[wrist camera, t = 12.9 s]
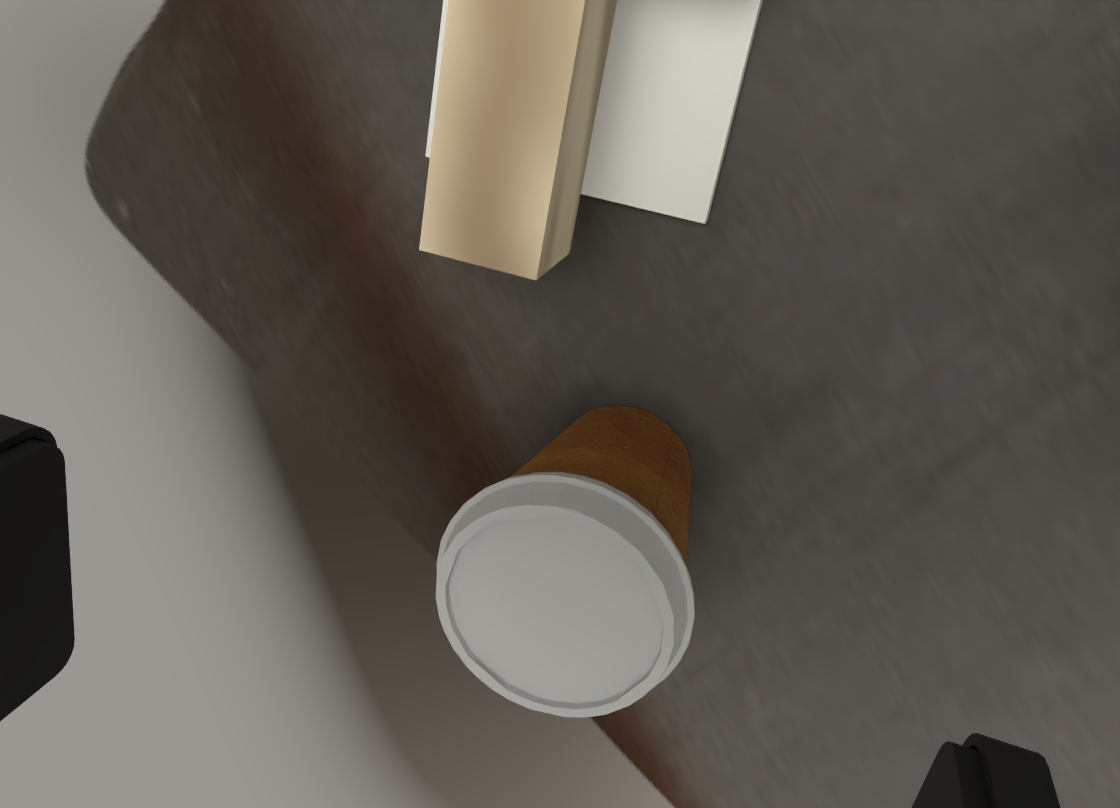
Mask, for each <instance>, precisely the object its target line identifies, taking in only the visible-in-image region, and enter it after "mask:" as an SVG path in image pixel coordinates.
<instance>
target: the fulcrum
mask: <svg viewBox="0 0 1120 808" xmlns="http://www.w3.org/2000/svg"><path fill="white" fill-rule="evenodd" d="M762 2H763V0H617V4H616V9H615V15H614V20H613V25H612V31H611V36H610V41H609V46H608V52H607V57H606V62H605V68H604V73H603V78H602V84H601V89H600V94H599V99H598V105H597V110H596V115H595V121H594V126H593V131H592V137H591V142H590V147H589V152H588V158H587V163H586V168H585V174H584V179H583V184H582V190H581V194H583V195H587V196H591V197H596V198H600V199H604V200H608V201H612V202H616V203H620V204H625V205H629V206H633V207H637V208H641V209H645V210H649V211H653V212H658V213H662V214H666V215H670V216H674V217H678V218H682V219H687V220H691V221H695V222H699V223H703V224H705V223H706V222H707V220H708V218H709V214H710V210H711V206H712V202H713V198H714V194H715V190H716V186H717V182H718V178H719V174H720V170H721V166H722V162H723V158H724V154H725V150H726V146H727V142H728V138H729V134H730V130H731V126H732V122H733V118H734V114H735V110H736V106H737V102H738V98H739V94H740V90H741V86H742V82H743V78H744V74H745V70H746V66H747V62H748V58H749V54H750V50H751V46H752V42H753V38H754V34H755V30H756V26H757V22H758V18H759V14H760V10H761V6H762ZM447 8H448V0H443V9H442V17H441V26H440V35H439V44H438V52H437V61H436V70H435V78H434V87H433V96H432V104H431V113H430V122H429V130H428V139H427V148H426V157H430V153H431V145H432V136H433V128H434V119H435V110H436V102H437V93H438V85H439V76H440V68H441V59H442V51H443V42H444V34H445V25H446V17H447Z"/></svg>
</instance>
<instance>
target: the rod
mask: <svg viewBox="0 0 1120 808" xmlns="http://www.w3.org/2000/svg"><path fill="white" fill-rule="evenodd" d="M616 4H617V0H448V8H447V17H446V25H445V34H444V42H443V51H442V59H441V68H440V76H439V85H438V93H437V102H436V110H435V119H434V128H433V136H432V145H431V153H430V162H429V170H428V179H427V187H426V196H425V204H424V213H423V221H422V230H421V238H420V247H419V250H422V251H426V252H429V253H433V254H437V255H441V256H445V257H449V258H452V259H456V260H460V261H464V262H468V263H471V264H475V265H479V266H483V267H487V268H491V269H494V270H498V271H502V272H506V273H510V274H513V275H517V276H521V277H525V278H529V279H533V280H537V279H538V278H540V277H541V276H542V275H543V274H545V273H546V272H547V271H548V270H550V269H551V268H552V267H553V266H554V265H556V264H557V263H558V262H559V261H561V260H562V259H563V258H564V257H566V256H567V255H568V254H569V253H570V248H571V243H572V237H573V232H574V227H575V221H576V216H577V211H578V205H579V200H580V195H581V190H582V184H583V179H584V174H585V168H586V163H587V158H588V152H589V147H590V142H591V137H592V131H593V126H594V121H595V115H596V110H597V105H598V99H599V94H600V89H601V84H602V78H603V73H604V68H605V62H606V57H607V52H608V46H609V41H610V36H611V31H612V25H613V20H614V15H615V9H616Z"/></svg>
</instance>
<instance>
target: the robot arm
mask: <svg viewBox="0 0 1120 808" xmlns="http://www.w3.org/2000/svg"><path fill="white" fill-rule="evenodd" d="M72 603H73V602H72V585H71V566H70V548H69V530H68V512H67V493H66V477H65V460H64V456H63V453H62V452H61V450H60V449H59V448H57V445H56V440H55V438H54V437H53V435H52V434H51V433H50V432H49V431H48V430H46V429H44V428H42V427H38V426H36V425H33V424H29V423H26V422H23V421H20V420H17V419H14V418H11V417H8V416H5V415H0V721H1V720H2V719H4V718H5V717H6V716H7V715H9V714H10V713H11V712H12V711H13V710H15V709H16V708H17V707H18V706H20V705H21V704H22V703H23V702H24V701H26V700H27V699H28V698H29V697H31V696H32V695H33V694H34V693H35V692H37V691H38V690H39V689H40V688H41V687H43V686H44V685H45V684H46V683H47V682H49V681H50V680H51V679H52V678H54V677H55V676H56V675H57V674H58V673H59V672H60V671H61V670H62V669H63V668H64V666H65V665H66V663H67V662H68V660H69V658H70V656H71V654H72V650H73V648H74V621H73V604H72ZM912 808H1060V805H1059V801H1058V798H1057V794H1056V791H1055V788H1054V784H1053V781H1052V777H1051V774H1050V770H1049V767H1048V765H1047V762H1046V760H1045V758H1044V757H1043V756H1041V755H1040V754H1039V753H1036V752H1033V751H1030V750H1027V749H1024V748H1021V747H1018V746H1014V745H1011V744H1008V743H1005V742H1002V741H999V740H996V739H993V738H990V737H987V736H984V735H981V734H978V733H976V734H971V735H970V736H969V737H968V738H967V739H966V741H965V742H964V744H963V746H962V745H959V744H956V743H953V742H945V743H944V744H943V745H942V746H941V748H940V750H939V752H938V753H937V756H936V758H935V760H934V762H933V764H932V766H931V768H930V770H929V772H928V774H927V776H926V779H925V781H924V783H923V785H922V787H921V789H920V791H919V793H918V795H917V797H916V800H915V802H914V804H913V806H912Z"/></svg>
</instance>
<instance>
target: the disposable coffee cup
mask: <svg viewBox="0 0 1120 808" xmlns="http://www.w3.org/2000/svg"><path fill="white" fill-rule="evenodd" d="M690 489H691V465H690V459H689V456H688V452H687V450H686V448H685V446H684V444H683V442H682V441H681V439H680V438H679V436H678V435H677V434H676V432H675V431H674V430H673V429H672V428H671V427H670V426H669V425H667V424H666V423H665V422H664V421H662V420H661V419H660V418H658V417H657V416H655V415H653V414H651V413H650V412H647V411H644V410H641V409H639V408H636V407H628V406H620V405H616V406H606V407H601V408H597V409H594V410H592V411H590V412H588V413H585V414H584V415H582V416H581V417H580V418H578V419H577V420H576V421H574V423H573V424H572V425H570V426H569V427H568V428H567V429H566V430H565V431H563V432H562V433H561V434H560V435H559V436H558V437H556V438H555V439H554V440H553V441H552V442H551V443H549V444H548V445H547V446H546V447H545V448H543V449H542V450H541V451H540V452H539V453H538V454H537V455H535V456H534V457H533V458H532V459H531V460H530V461H528V462H527V463H526V464H525V465H524V466H523V467H521V468H520V469H519V470H518V471H517V472H516V473H514V474H513V475H512V476H511V477H510V478H507V479H505V480H503V481H500V482H498V483H495V484H493V485H490V486H488V487H486V488H484V489H483V490H482V491H480V492H479V493H478V494H476V495H475V496H474V497H473V498H471V499H470V500H469V501H467V502H466V503H465V504H463V506H462V507H461V508H460V509H459V511H458V512H457V513H456V515H455V516H454V517H453V518H452V520H451V521H450V523H449V525H448V527H447V529H446V531H445V533H444V535H443V537H442V539H441V543H440V548H439V554H438V559H437V583H436V584H437V585H436V602H437V607H438V613H439V618H440V620H441V624H442V626H443V629H444V631H445V633H446V635H447V637H448V639H449V641H450V643H451V645H452V647H453V649H454V650H455V652H456V653H457V654H458V656H459V657H460V658H461V660H462V661H463V662H464V664H465V665H466V666H467V667H468V668H469V669H470V670H471V671H472V672H473V673H474V674H475V675H476V676H477V677H478V678H479V679H480V680H482V682H484V683H485V684H486V685H487V686H489V687H490V688H491V689H492V690H494V691H496V692H497V693H499V694H500V695H502V696H504V697H505V698H507V699H509V700H511V701H513V702H515V703H517V704H520V705H522V706H524V707H527V708H529V709H532V710H536V711H540V712H545V713H549V714H554V715H559V716H563V717H591V716H599V715H606V714H609V713H611V712H614V711H616V710H619V709H622V708H624V707H627V706H629V705H631V704H632V703H634V702H635V701H637V700H639V699H640V698H642V697H643V696H644V695H645V694H646V693H647V692H648V691H650V690H651V689H652V688H653V687H655V686H656V685H657V684H659V683H660V682H661V681H662V680H664V679H665V678H666V677H667V676H668V675H669V674H670V673H671V671H672V670H673V669H674V668H675V667H676V666H677V664H678V663H679V662H680V660H681V658H682V656H683V654H684V652H685V650H686V648H687V647H688V645H689V642H690V637H691V632H692V627H693V622H694V617H695V613H694V593H693V588H692V583H691V579H690V574H689V572H688V570H687V567H686V566H687V553H688V551H687V548H688V531H689V509H690Z"/></svg>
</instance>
